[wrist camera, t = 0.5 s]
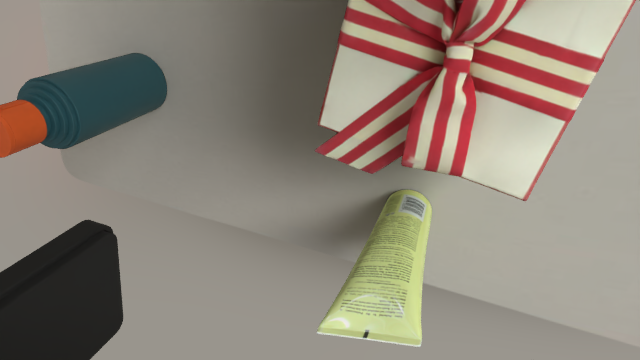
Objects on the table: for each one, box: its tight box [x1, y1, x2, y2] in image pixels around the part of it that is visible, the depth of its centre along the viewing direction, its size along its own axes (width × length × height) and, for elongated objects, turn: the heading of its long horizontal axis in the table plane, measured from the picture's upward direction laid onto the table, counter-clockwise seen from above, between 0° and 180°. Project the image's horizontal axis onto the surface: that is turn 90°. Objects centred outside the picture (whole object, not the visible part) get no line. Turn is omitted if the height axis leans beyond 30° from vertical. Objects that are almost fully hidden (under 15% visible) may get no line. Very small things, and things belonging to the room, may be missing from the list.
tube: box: [317, 190, 432, 347], centre depth 40 cm, size 6×5×20 cm
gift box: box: [315, 0, 636, 201], centre depth 33 cm, size 17×18×17 cm
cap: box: [0, 100, 47, 158], centre depth 38 cm, size 4×4×4 cm
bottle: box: [17, 53, 167, 149], centre depth 45 cm, size 7×7×18 cm
